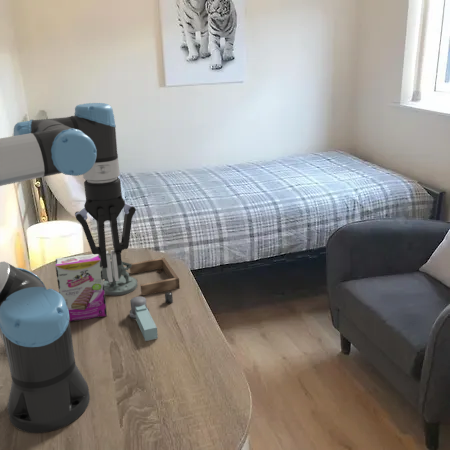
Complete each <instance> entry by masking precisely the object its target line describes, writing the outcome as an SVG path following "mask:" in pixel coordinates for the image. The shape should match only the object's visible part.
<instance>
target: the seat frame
mask: <svg viewBox="0 0 450 450" xmlns="http://www.w3.org/2000/svg"><path fill="white" fill-rule="evenodd" d="M130 264H132V266H131V268H129V272H130V275H133V274H138V273H144V272H149V271H150V272H151V271H153V270H156V273H158V274H159V273H160V274H161V273H163V271H164V272H165V274H166V276H167V277H168V278H166V279H162V280H161V279H160V280H158V281H157V280H156V281H151V282H146V283H142V284H140V292H141V293H140V294H141V296H146V295H152V294H158V293H161V292H168V291H171V290H176V289H180V286H181V285H180V278H179V276H178V275H177V273H176V272H175V271H174V270H173V268H172V267H171V265H170V264H169V262H168V261H167V259H166V258H165V257H160V258H155V259H150V260H143V261H137V262H131V263H130Z"/></svg>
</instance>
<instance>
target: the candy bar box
mask: <svg viewBox="0 0 450 450" xmlns="http://www.w3.org/2000/svg"><path fill="white" fill-rule="evenodd" d="M55 273H56V279H57V280H56V281H57V286H58V287H57V288H58V292H59V293H60V294H61V295H62V296H63V298H64V299H65V302H66V305H67V307H68V311H69V323H72V322H79V321H83V320H89V319H90V320H91V319H96V318H102V317H107V316H108V312H107V303H106V301H107V300H106V294H105V292H104V282H103V281H104V279H103V273H102V265H101V260H100V255H99V254H93V253H89V254H82V255H75V256H74V255H73V256H72V255H71V256H65V257H55Z"/></svg>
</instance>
